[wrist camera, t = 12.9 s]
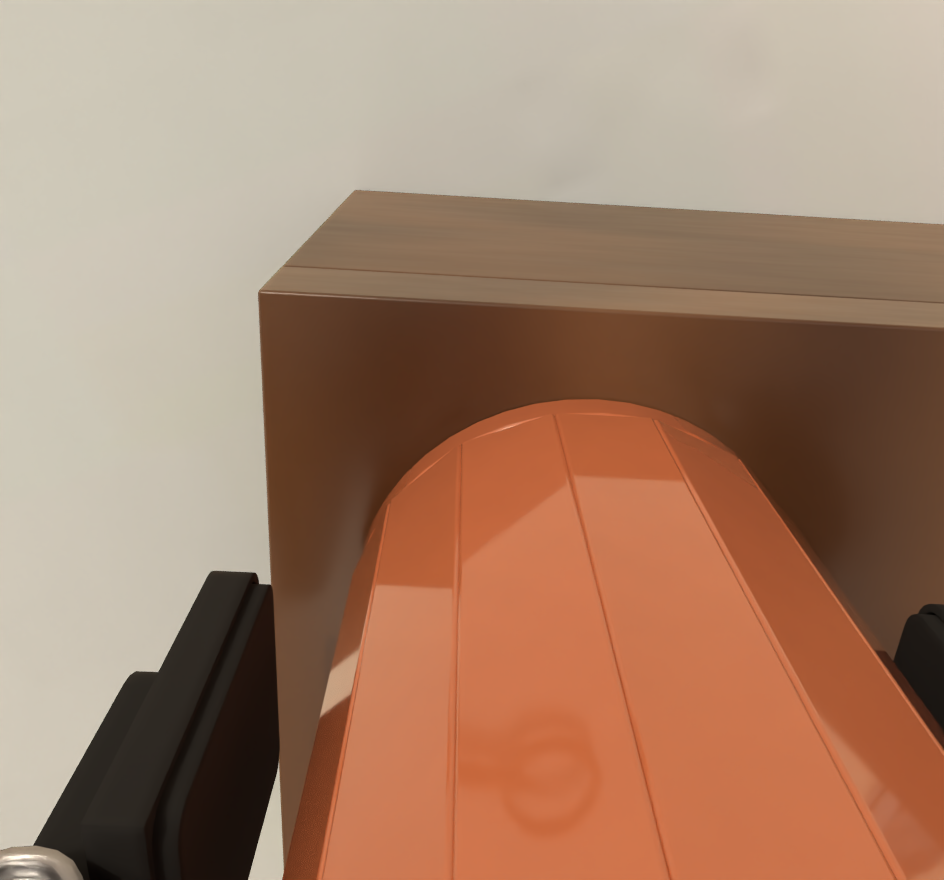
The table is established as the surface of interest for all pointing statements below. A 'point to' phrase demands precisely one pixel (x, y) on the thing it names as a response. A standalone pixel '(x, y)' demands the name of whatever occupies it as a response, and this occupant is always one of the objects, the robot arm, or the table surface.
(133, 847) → the robot arm
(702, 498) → the cup
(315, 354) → the dark wooden box
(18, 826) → the table surface
